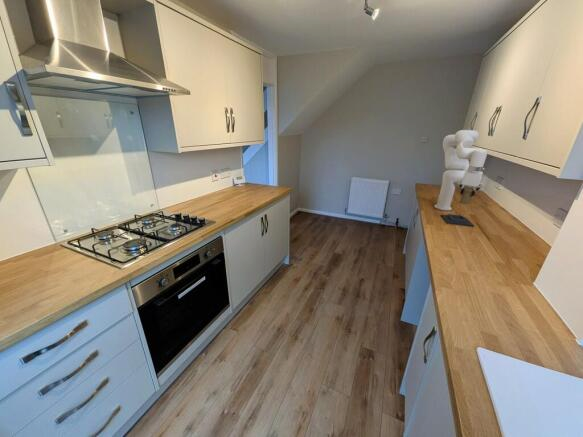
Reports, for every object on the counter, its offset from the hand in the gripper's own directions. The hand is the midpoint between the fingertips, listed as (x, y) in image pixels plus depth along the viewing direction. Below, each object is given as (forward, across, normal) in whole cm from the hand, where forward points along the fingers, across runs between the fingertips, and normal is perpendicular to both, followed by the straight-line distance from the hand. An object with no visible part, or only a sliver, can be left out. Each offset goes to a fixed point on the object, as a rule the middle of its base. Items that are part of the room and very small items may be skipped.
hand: (466, 195), depth 163 cm
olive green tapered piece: (+6, 0, 0) cm, 6 cm away
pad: (+20, +1, 0) cm, 20 cm away
